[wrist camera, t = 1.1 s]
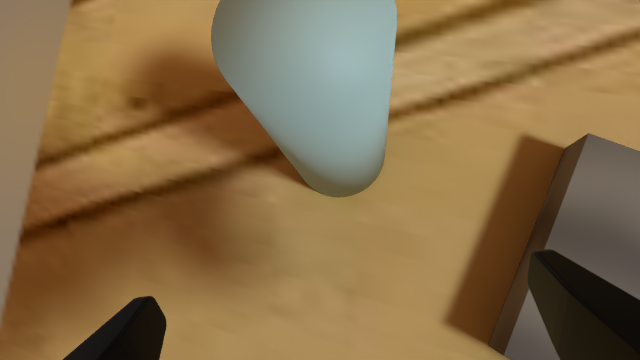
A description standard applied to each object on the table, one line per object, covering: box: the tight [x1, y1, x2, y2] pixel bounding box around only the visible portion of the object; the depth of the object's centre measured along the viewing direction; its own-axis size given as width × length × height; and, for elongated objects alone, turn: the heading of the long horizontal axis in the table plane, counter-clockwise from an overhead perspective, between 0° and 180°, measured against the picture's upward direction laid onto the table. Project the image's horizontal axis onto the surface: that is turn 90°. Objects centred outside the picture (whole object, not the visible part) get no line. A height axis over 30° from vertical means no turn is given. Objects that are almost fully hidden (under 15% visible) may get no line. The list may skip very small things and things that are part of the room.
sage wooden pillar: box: [211, 0, 397, 197], centre depth 17 cm, size 6×6×13 cm
